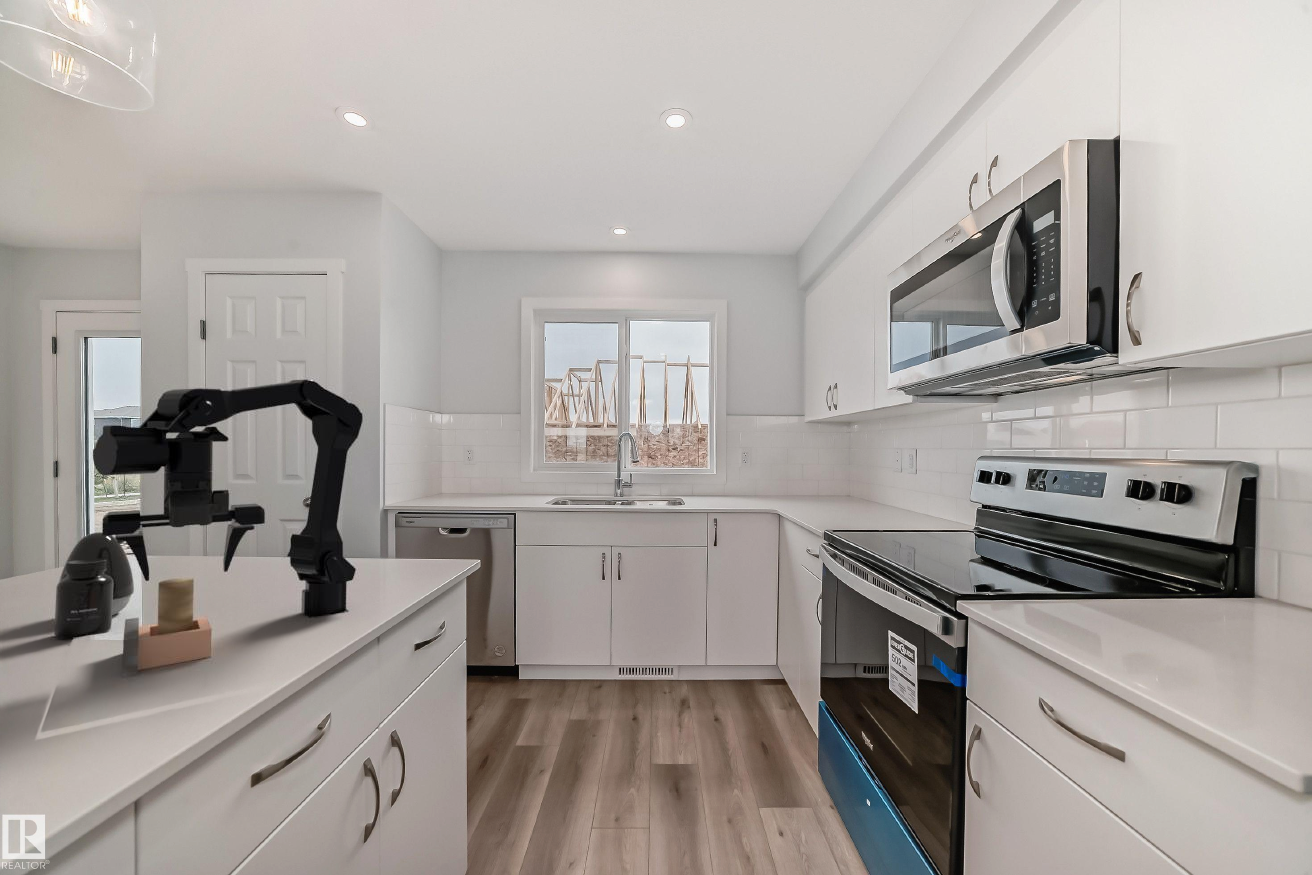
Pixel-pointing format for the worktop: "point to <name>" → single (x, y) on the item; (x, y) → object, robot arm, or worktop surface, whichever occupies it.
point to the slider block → (173, 645)
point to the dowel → (175, 605)
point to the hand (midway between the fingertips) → (187, 575)
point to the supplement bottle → (84, 600)
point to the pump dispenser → (107, 565)
